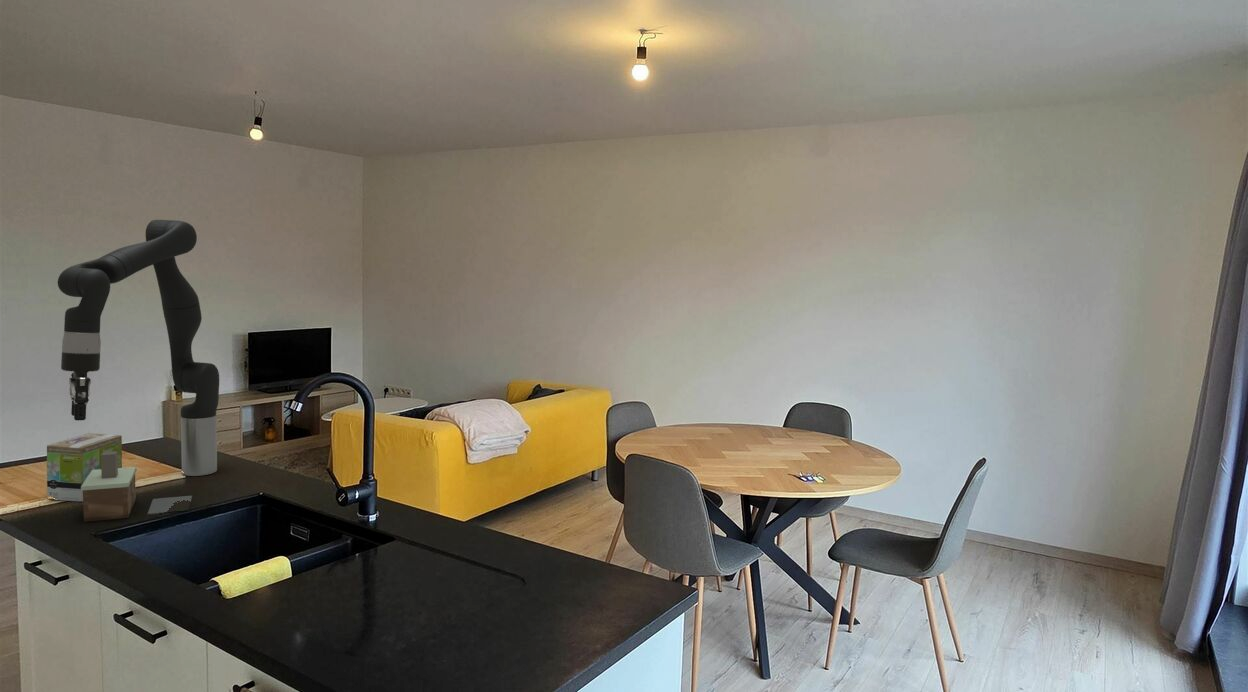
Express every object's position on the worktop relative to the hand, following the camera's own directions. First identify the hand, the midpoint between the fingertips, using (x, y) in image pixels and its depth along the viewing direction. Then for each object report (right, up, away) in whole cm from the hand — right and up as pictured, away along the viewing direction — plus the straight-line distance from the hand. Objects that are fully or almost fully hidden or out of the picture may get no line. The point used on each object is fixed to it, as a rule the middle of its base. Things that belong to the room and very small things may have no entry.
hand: (78, 417), depth 180 cm
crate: (+2, -25, +9) cm, 26 cm away
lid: (+2, -18, +8) cm, 19 cm away
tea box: (-14, -23, +22) cm, 34 cm away
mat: (+13, -24, +15) cm, 32 cm away
